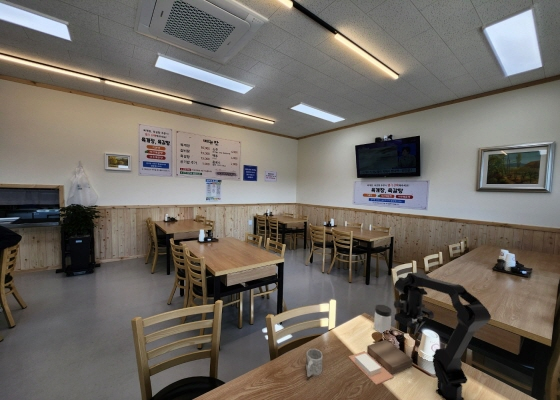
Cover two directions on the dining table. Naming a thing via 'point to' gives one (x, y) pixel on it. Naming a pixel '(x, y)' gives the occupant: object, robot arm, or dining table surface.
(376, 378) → the mat
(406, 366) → the brown rectangular block
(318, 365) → the mug
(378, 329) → the jar
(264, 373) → the dining table surface
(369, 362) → the grey flat block
